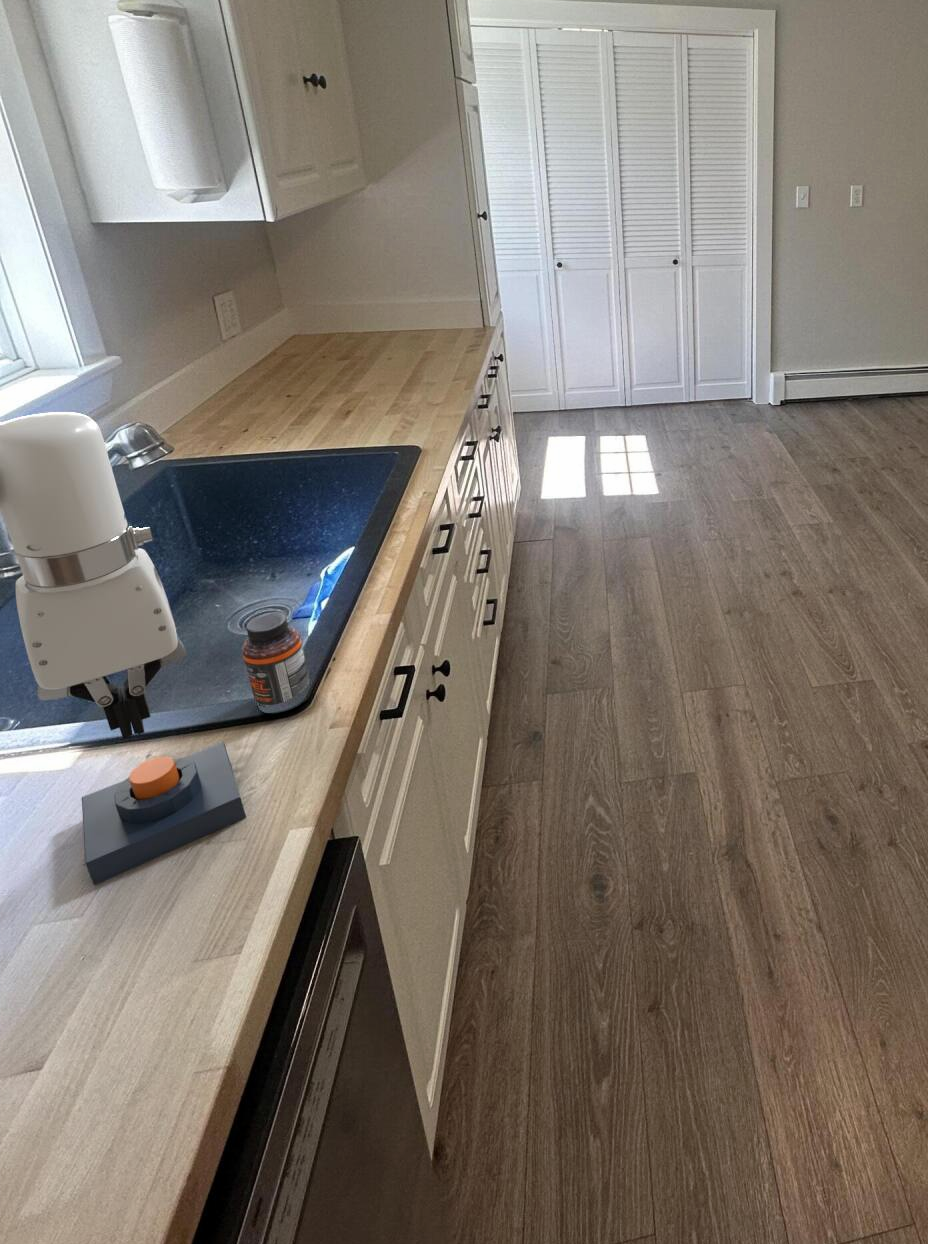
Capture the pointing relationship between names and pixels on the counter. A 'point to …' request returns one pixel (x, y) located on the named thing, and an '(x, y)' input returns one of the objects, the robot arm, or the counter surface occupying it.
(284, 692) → the supplement bottle
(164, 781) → the push button
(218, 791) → the button box
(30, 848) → the counter surface
